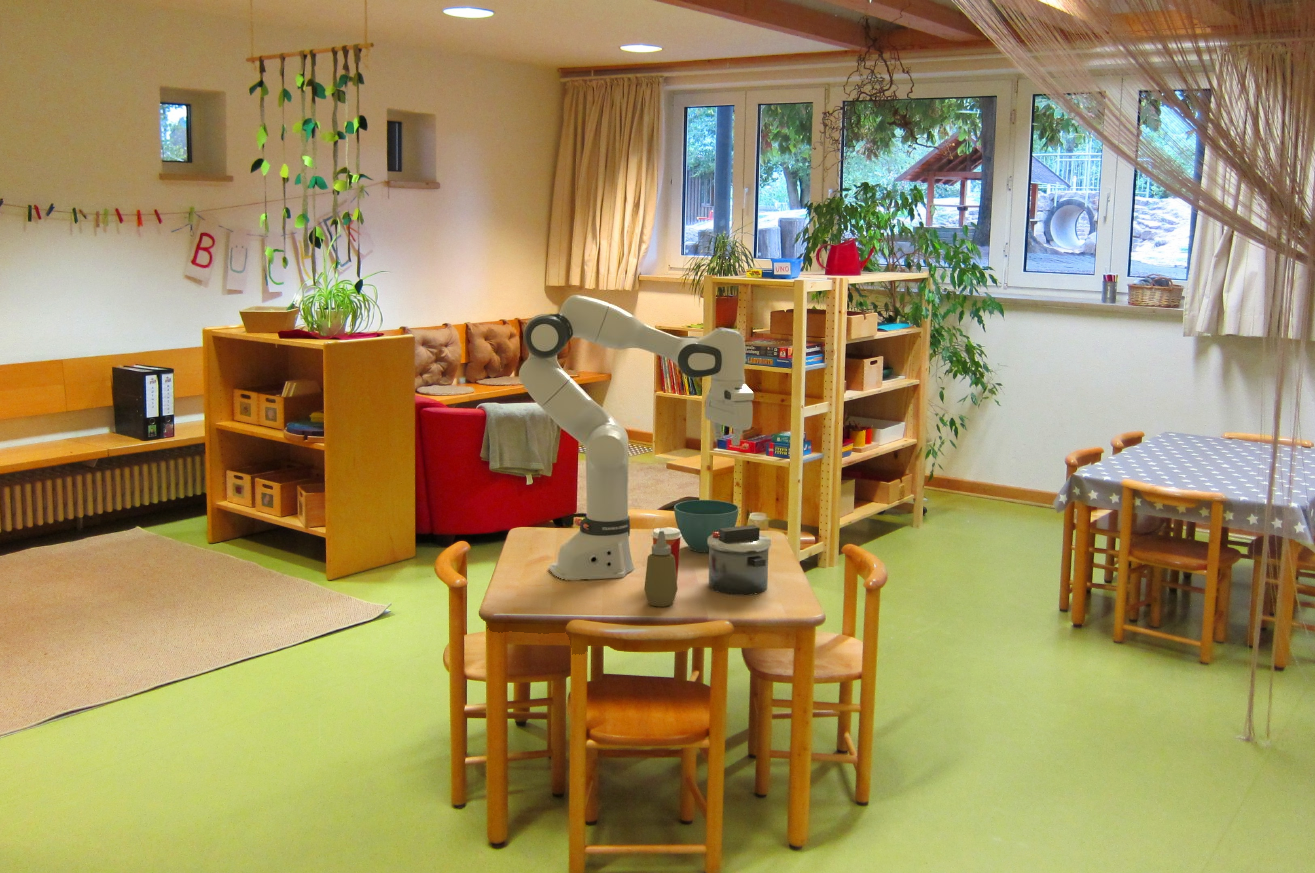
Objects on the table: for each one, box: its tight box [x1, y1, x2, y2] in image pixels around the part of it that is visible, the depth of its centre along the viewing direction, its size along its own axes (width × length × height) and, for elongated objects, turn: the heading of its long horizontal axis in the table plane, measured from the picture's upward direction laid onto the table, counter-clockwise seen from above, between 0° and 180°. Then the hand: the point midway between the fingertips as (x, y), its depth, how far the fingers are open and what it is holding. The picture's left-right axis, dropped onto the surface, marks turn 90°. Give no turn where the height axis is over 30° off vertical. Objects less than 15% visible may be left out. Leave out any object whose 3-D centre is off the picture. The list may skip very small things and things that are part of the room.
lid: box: [708, 524, 772, 553], centre depth 293 cm, size 16×16×4 cm
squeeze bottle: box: [643, 531, 678, 607], centre depth 280 cm, size 8×8×18 cm
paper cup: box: [651, 526, 683, 579], centre depth 296 cm, size 8×8×14 cm
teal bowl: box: [673, 499, 740, 554], centre depth 328 cm, size 18×18×12 cm
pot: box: [708, 547, 770, 596], centre depth 295 cm, size 15×22×11 cm
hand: (726, 441), depth 307 cm, fingers open, 8 cm apart
